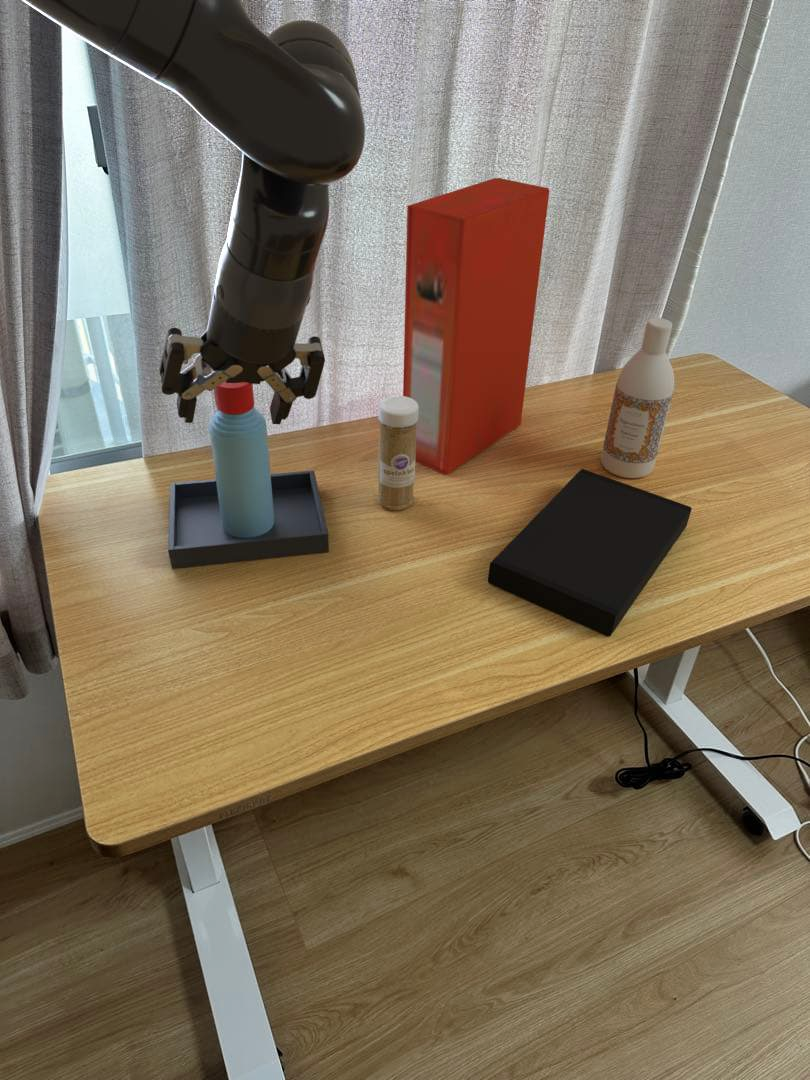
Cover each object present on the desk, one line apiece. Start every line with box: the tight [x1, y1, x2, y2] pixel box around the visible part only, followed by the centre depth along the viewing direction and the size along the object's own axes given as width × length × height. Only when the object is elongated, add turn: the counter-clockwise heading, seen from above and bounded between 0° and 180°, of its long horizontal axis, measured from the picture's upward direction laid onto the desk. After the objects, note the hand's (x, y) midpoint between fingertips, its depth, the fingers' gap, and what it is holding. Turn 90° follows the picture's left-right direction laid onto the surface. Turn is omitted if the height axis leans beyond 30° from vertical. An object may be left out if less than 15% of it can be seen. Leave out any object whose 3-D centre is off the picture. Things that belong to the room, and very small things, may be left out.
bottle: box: [208, 406, 274, 538], centre depth 88 cm, size 6×6×18 cm
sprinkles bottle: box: [376, 395, 419, 511], centre depth 95 cm, size 5×5×13 cm
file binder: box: [402, 177, 550, 475], centre depth 101 cm, size 8×17×32 cm, turn 141°
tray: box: [167, 470, 330, 570], centre depth 93 cm, size 17×13×3 cm
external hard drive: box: [487, 468, 693, 638], centre depth 91 cm, size 14×23×3 cm, turn 146°
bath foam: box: [600, 317, 675, 479], centre depth 101 cm, size 7×7×20 cm
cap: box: [213, 381, 255, 414], centre depth 83 cm, size 4×4×3 cm
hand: (231, 416), depth 79 cm, fingers open, 8 cm apart
